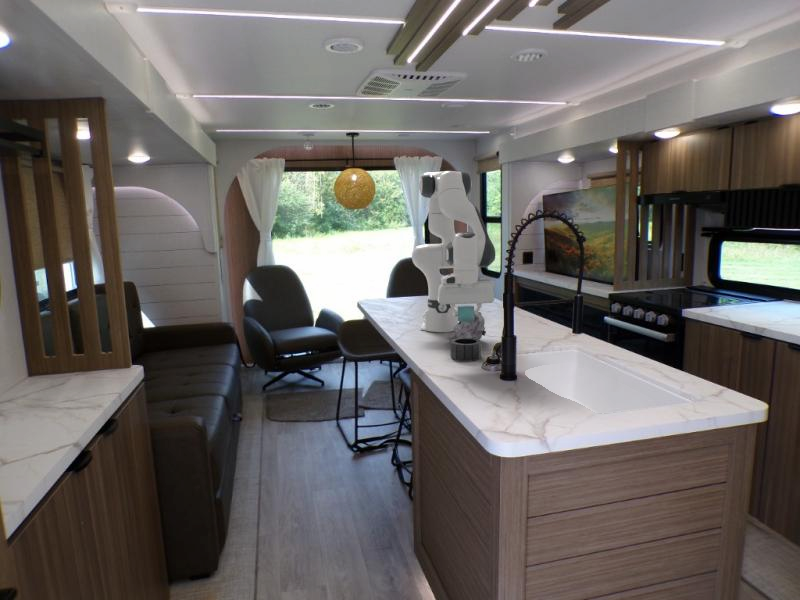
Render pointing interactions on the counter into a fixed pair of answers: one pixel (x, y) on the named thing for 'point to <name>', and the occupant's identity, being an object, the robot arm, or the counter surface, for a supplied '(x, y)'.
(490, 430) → the counter surface
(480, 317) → the rock
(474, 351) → the grey short cylinder
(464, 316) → the teal cube
